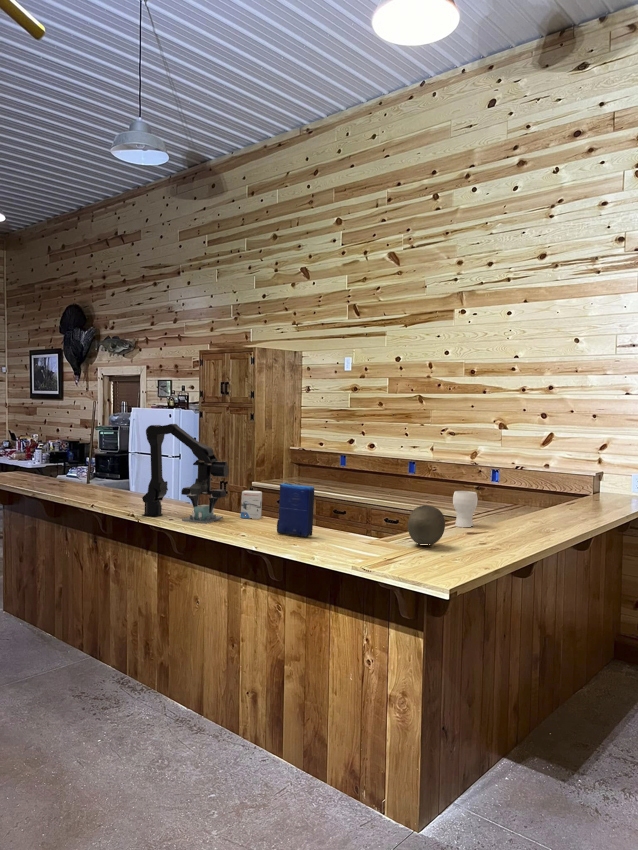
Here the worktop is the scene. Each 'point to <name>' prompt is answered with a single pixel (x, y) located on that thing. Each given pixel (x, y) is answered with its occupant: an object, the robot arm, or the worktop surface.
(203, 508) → the block
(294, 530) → the book
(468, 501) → the cup
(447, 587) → the worktop surface
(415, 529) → the dark grey sphere
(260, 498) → the ink box
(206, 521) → the metal plate device
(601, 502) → the worktop surface
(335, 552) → the worktop surface
